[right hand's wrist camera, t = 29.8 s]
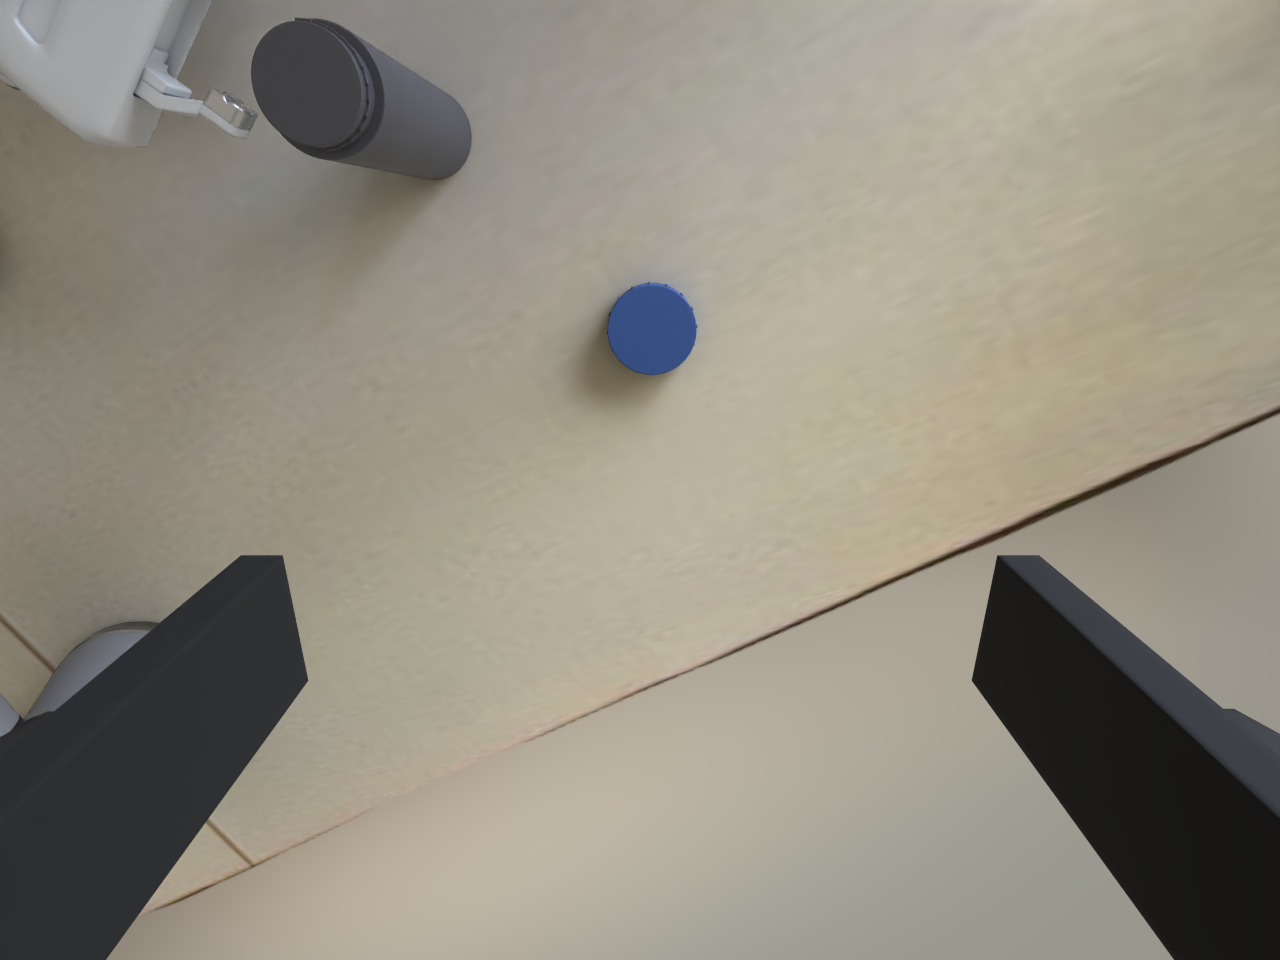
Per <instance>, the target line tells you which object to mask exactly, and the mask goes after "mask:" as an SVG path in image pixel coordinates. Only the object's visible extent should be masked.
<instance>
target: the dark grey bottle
mask: <svg viewBox="0 0 1280 960" xmlns="http://www.w3.org/2000/svg"><path fill="white" fill-rule="evenodd" d="M251 77H252V86H253V90H254V94H255V97H256V100H257V102H258V105H259V106H260V108H261V110H262V112H263V114H264V115H265V117H266V118H267V120H268V121H269V122H270V123H271V124H272V125H273V126H274V127H275V128H276V129H277V130H278V131H279V132H280V133H281V135H282V136H283V137H284V138H285V139H286V140H287V141H288V142H289V143H291V144H292V145H293V146H294V147H296V148H297V149H299V150H300V151H302V152H304V153H306V154H308V155H310V156H313V157H316V158H319V159H324V160H329V161H335V162H340V163H345V164H350V165H356V166H361V167H366V168H371V169H377V170H382V171H387V172H393V173H398V174H403V175H408V176H414V177H419V178H424V179H430V180H437V179H443V178H447V177H449V176H451V175H453V174H454V173H456V172H457V171H458V170H459V169H460V168H461V167H462V166H463V164H464V163H465V161H466V159H467V157H468V155H469V152H470V147H471V129H470V124H469V121H468V118H467V116H466V114H465V112H464V110H463V109H462V107H461V106H460V105H459V103H458V102H457V101H456V100H455V99H454V98H453V97H451V96H450V95H449V94H447V93H446V92H444V91H443V90H441V89H439V88H438V87H436V86H435V85H433V84H432V83H430V82H428V81H427V80H425V79H424V78H422V77H421V76H419V75H418V74H416V73H414V72H413V71H411V70H410V69H408V68H407V67H405V66H403V65H402V64H400V63H399V62H397V61H396V60H394V59H393V58H391V57H389V56H388V55H386V54H385V53H383V52H382V51H380V50H378V49H377V48H375V47H374V46H372V45H371V44H369V43H368V42H366V41H364V40H363V39H361V38H360V37H358V36H357V35H355V34H354V33H352V32H350V31H349V30H347V29H346V28H344V27H342V26H340V25H338V24H336V23H334V22H331V21H327V20H322V19H305V18H295V21H290V22H285V23H282V24H280V25H278V26H276V27H274V28H273V29H271V30H270V31H269V32H268V33H267V34H266V35H265V36H264V37H263V38H262V39H261V41H260V42H259V44H258V46H257V48H256V50H255V53H254V56H253V61H252V69H251Z"/></svg>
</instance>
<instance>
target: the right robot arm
mask: <svg viewBox="0 0 1280 960" xmlns="http://www.w3.org/2000/svg"><path fill="white" fill-rule="evenodd" d="M307 682H308V677H307V672H306V667H305V662H304V657H303V653H302V648H301V643H300V638H299V633H298V628H297V623H296V618H295V614H294V609H293V604H292V599H291V594H290V589H289V584H288V579H287V574H286V570H285V565H284V560H283V555H241V556H240V557H239V558H237V559H236V560H235V561H234V562H233V563H231V564H230V565H229V566H228V567H227V568H225V569H224V570H223V571H222V572H221V573H219V574H218V575H217V576H216V577H215V578H213V579H212V580H211V581H210V582H209V583H207V584H206V585H205V586H204V587H203V588H201V589H200V590H199V591H198V592H197V593H195V594H194V595H193V596H192V597H191V598H189V599H188V600H187V601H186V602H185V603H183V604H182V605H181V606H180V607H179V608H177V609H176V610H175V611H174V612H173V613H171V614H170V615H169V616H168V617H167V618H165V619H164V620H163V621H162V622H161V623H151V622H128V623H122V624H117V625H113V626H110V627H107V628H104V629H102V630H100V631H98V632H96V633H95V634H93V635H92V636H90V637H89V638H87V639H86V640H85V641H83V642H82V643H81V644H79V645H78V646H77V647H76V648H74V649H73V650H72V651H71V652H70V653H69V654H68V655H67V657H66V658H65V659H64V660H63V661H62V662H61V663H60V664H59V666H58V667H57V669H56V670H55V672H54V674H53V675H52V677H51V678H50V680H49V681H48V683H47V684H46V686H45V687H44V689H43V691H42V692H41V694H40V695H39V697H38V698H37V700H36V701H35V703H34V705H33V706H32V708H31V709H30V711H29V712H28V714H27V716H26V717H25V719H24V720H23V719H22V718H21V716H20V715H19V714H18V713H17V712H16V710H15V709H14V708H13V707H12V706H11V705H10V704H9V703H8V701H7V700H6V699H5V698H4V697H3V696H2V695H1V694H0V960H106V959H107V957H108V956H109V955H110V953H111V952H112V951H113V949H114V948H115V946H116V945H117V944H118V942H119V941H120V939H121V938H122V937H123V935H124V934H125V933H126V931H127V930H128V928H129V927H130V926H131V924H132V923H133V922H134V920H135V919H136V917H137V916H138V915H139V913H140V912H141V911H142V909H143V908H144V906H145V905H146V904H147V902H148V901H149V900H150V898H151V897H152V895H153V894H154V893H155V891H156V890H157V888H158V887H159V886H160V884H161V883H162V882H163V880H164V879H165V877H166V876H167V875H168V873H169V872H170V871H171V869H172V868H173V866H174V865H175V864H176V862H177V861H178V860H179V858H180V857H181V855H182V854H183V853H184V851H185V850H186V848H187V847H188V846H189V844H190V843H191V842H192V840H193V839H194V837H195V836H196V835H197V833H198V832H199V831H200V829H201V828H202V826H203V825H204V824H205V822H206V821H207V820H208V818H209V817H210V815H211V814H212V813H213V811H214V810H215V808H216V807H217V806H218V804H219V803H220V802H221V800H222V799H223V797H224V796H225V795H226V793H227V792H228V791H229V789H230V788H231V786H232V785H233V784H234V782H235V781H236V780H237V778H238V777H239V775H240V774H241V773H242V771H243V770H244V768H245V767H246V766H247V764H248V763H249V762H250V760H251V759H252V757H253V756H254V755H255V753H256V752H257V751H258V749H259V748H260V746H261V745H262V744H263V742H264V741H265V740H266V738H267V737H268V735H269V734H270V733H271V731H272V730H273V728H274V727H275V726H276V724H277V723H278V722H279V720H280V719H281V717H282V716H283V715H284V713H285V712H286V711H287V709H288V708H289V706H290V705H291V704H292V702H293V701H294V699H295V698H296V697H297V695H298V694H299V693H300V691H301V690H302V688H303V687H304V686H305V684H306V683H307ZM972 682H973V683H974V684H975V686H976V687H977V688H978V690H979V691H980V693H981V694H982V695H983V697H984V698H985V699H986V701H987V702H988V704H989V705H990V706H991V708H992V709H993V711H994V712H995V713H996V715H997V716H998V717H999V719H1000V720H1001V722H1002V723H1003V724H1004V726H1005V727H1006V728H1007V730H1008V731H1009V733H1010V734H1011V735H1012V737H1013V738H1014V740H1015V741H1016V742H1017V744H1018V745H1019V746H1020V748H1021V749H1022V751H1023V752H1024V753H1025V755H1026V756H1027V757H1028V759H1029V760H1030V762H1031V763H1032V764H1033V766H1034V767H1035V768H1036V770H1037V771H1038V773H1039V774H1040V775H1041V777H1042V778H1043V780H1044V781H1045V782H1046V784H1047V785H1048V786H1049V788H1050V789H1051V791H1052V792H1053V793H1054V795H1055V796H1056V797H1057V799H1058V800H1059V801H1060V803H1061V804H1062V806H1063V807H1064V808H1065V810H1066V811H1067V813H1068V814H1069V815H1070V817H1071V818H1072V820H1073V821H1074V822H1075V824H1076V825H1077V826H1078V828H1079V829H1080V831H1081V832H1082V833H1083V835H1084V836H1085V837H1086V839H1087V840H1088V842H1089V843H1090V844H1091V846H1092V847H1093V848H1094V850H1095V851H1096V852H1097V854H1098V855H1099V857H1100V858H1101V859H1102V861H1103V862H1104V864H1105V865H1106V866H1107V868H1108V869H1109V871H1110V872H1111V873H1112V875H1113V876H1114V877H1115V879H1116V880H1117V881H1118V883H1119V884H1120V886H1121V887H1122V888H1123V890H1124V891H1125V893H1126V894H1127V895H1128V897H1129V898H1130V900H1131V901H1132V902H1133V904H1134V905H1135V906H1136V908H1137V909H1138V911H1139V912H1140V913H1141V915H1142V916H1143V917H1144V919H1145V920H1146V922H1147V923H1148V924H1149V926H1150V927H1151V929H1152V930H1153V931H1154V933H1155V934H1156V935H1157V937H1158V938H1159V939H1160V941H1161V942H1162V944H1163V945H1164V946H1165V948H1166V949H1167V951H1168V952H1169V953H1170V955H1171V956H1172V957H1173V959H1174V960H1280V734H1279V733H1277V732H1275V731H1273V730H1272V729H1270V728H1268V727H1266V726H1264V725H1263V724H1261V723H1259V722H1257V721H1255V720H1253V719H1252V718H1250V717H1248V716H1246V715H1244V714H1242V713H1241V712H1239V711H1237V710H1235V709H1223V708H1221V707H1220V706H1219V705H1218V704H1217V703H1215V702H1214V701H1213V700H1212V699H1211V698H1209V697H1208V696H1207V695H1206V694H1205V693H1203V692H1202V691H1201V690H1200V689H1199V688H1197V687H1196V686H1195V685H1194V684H1193V683H1191V682H1190V681H1189V680H1188V679H1187V678H1185V677H1184V676H1183V675H1182V674H1181V673H1179V672H1178V671H1177V670H1176V669H1175V668H1173V667H1172V666H1171V665H1170V664H1169V663H1167V662H1166V661H1165V660H1164V659H1163V658H1161V657H1160V656H1159V655H1158V654H1157V653H1155V652H1154V651H1153V650H1152V649H1151V648H1149V647H1148V646H1147V645H1146V644H1145V643H1143V642H1142V641H1141V640H1140V639H1139V638H1137V637H1136V636H1135V635H1134V634H1133V633H1131V632H1130V631H1129V630H1128V629H1127V628H1125V627H1124V626H1123V625H1122V624H1121V623H1119V622H1118V621H1117V620H1116V619H1115V618H1113V617H1112V616H1111V615H1110V614H1109V613H1107V612H1106V611H1105V610H1104V609H1103V608H1101V607H1100V606H1099V605H1098V604H1097V603H1095V602H1094V601H1093V600H1092V599H1091V598H1089V597H1088V596H1087V595H1086V594H1085V593H1083V592H1082V591H1081V590H1080V589H1079V588H1077V587H1076V586H1075V585H1074V584H1073V583H1071V582H1070V581H1069V580H1068V579H1067V578H1065V577H1064V576H1063V575H1062V574H1061V573H1059V572H1058V571H1057V570H1056V569H1055V568H1053V567H1052V566H1051V565H1050V564H1049V563H1047V562H1046V561H1045V560H1044V559H1043V558H1041V557H1040V556H1038V555H1037V556H1036V555H1035V556H1034V555H1033V556H1032V555H1025V556H1023V555H1017V556H1016V555H1010V556H1009V555H1008V556H1007V555H1006V556H1004V555H1003V556H1002V555H1001V556H1000V555H998V556H997V560H996V565H995V570H994V574H993V579H992V584H991V589H990V594H989V599H988V604H987V609H986V614H985V618H984V623H983V628H982V633H981V638H980V643H979V648H978V653H977V658H976V662H975V667H974V672H973V677H972Z"/></svg>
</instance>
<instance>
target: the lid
mask: <svg viewBox="0 0 1280 960" xmlns="http://www.w3.org/2000/svg"><path fill="white" fill-rule="evenodd" d="M692 311H693V309H692V307H690V305H689V304H688V302H687V301H686V299H685V298H684V297H683V295H682V293H679V292H677V291H676V290H674V289H673V288H671V287H669V286H667V284H665V285H663V284H658V283H650V282H648V283H646V284H641V285H638V286H635V287H633V286H632V287H631V289H630V290H628V291H627V292H625V293H624V294H623V295H622V296H621V297H620V298H619V297H618V299H617V302H616V304H615V305H614V307H613V309H612V312H611V313H610V314H609V316H610V318H609V322H608V331H607V334H608V338H609V343H610V346H611V348H612V351H613V352H614V354H615V355H616V357H617V358H618V359H619V361H620V362H621V363H622V364H624V365H625V366H626V367H628V368H629V369H631V370H633V371H635V372H638V373H641V374H646V375H657V374H663V373H666V372H669V371H671V370H673V369H675V368H676V367H678V366H679V365H680V364H681V363H682V362H683V361H684V360H686V358H687V357H688V355H689V354H690V352H691V350H692V348H693V345H694V344H695V338H696V328H697V325H696V321H695V317H694V314H693V312H692Z"/></svg>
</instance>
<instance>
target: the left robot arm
mask: <svg viewBox="0 0 1280 960" xmlns="http://www.w3.org/2000/svg"><path fill="white" fill-rule="evenodd" d="M212 1H213V0H0V80H1V81H2V82H4V83H5V84H7V85H8V86H10V87H12V88H14V89H16V90H19V91H22V92H23V93H24V94H25V95H26V96H27V97H28V98H30V99H31V100H32V101H33V102H34V103H35V104H37V105H38V106H39V107H40V108H41V109H42V110H44V111H45V112H46V113H47V114H49V115H50V116H51V117H52V118H54V119H55V120H56V121H58V122H59V123H60V124H61V125H63V126H64V127H65V128H67V129H68V130H69V131H71V132H72V133H73V134H75V135H76V136H78V137H79V138H81V139H83V140H85V141H87V142H90V143H93V144H96V145H100V146H105V147H112V148H136V147H143V146H145V145H147V144H148V142H149V140H150V138H151V136H152V134H153V132H154V130H155V127H156V125H157V123H158V121H159V118H160V116H161V114H162V112H163V111H167V112H172V113H176V114H180V115H185V116H193V117H200V118H207V119H208V120H210V121H211V122H212V123H214V124H215V125H217V126H218V127H219V128H221V129H222V130H223V131H225V132H226V133H228V134H230V135H232V136H234V137H238V138H243V139H247V137H248V134H249V132H250V131H251V128H252V126H253V124H254V122H255V120H256V118H257V116H258V114H257V113H256V112H255V111H254V110H252V109H251V108H249V107H246V106H244V104H243V102H242V101H240V100H239V99H238V98H236V97H235V96H233V95H232V94H230V93H227V92H221V91H220V90H218V89H214V88H211V90H210V92H209V94H208V96H207V98H206V99H205V101H200V100H193V99H190V97H191V95H192V92H191V90H190V89H189V88H187V87H186V86H185V85H183V84H182V83H181V82H179V81H178V80H177V78H178V76H179V74H180V72H181V70H182V67H183V65H184V63H185V61H186V58H187V56H188V54H189V52H190V50H191V47H192V45H193V43H194V41H195V38H196V36H197V34H198V32H199V30H200V27H201V25H202V23H203V21H204V19H205V16H206V14H207V12H208V10H209V7H210V5H211V3H212Z"/></svg>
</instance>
